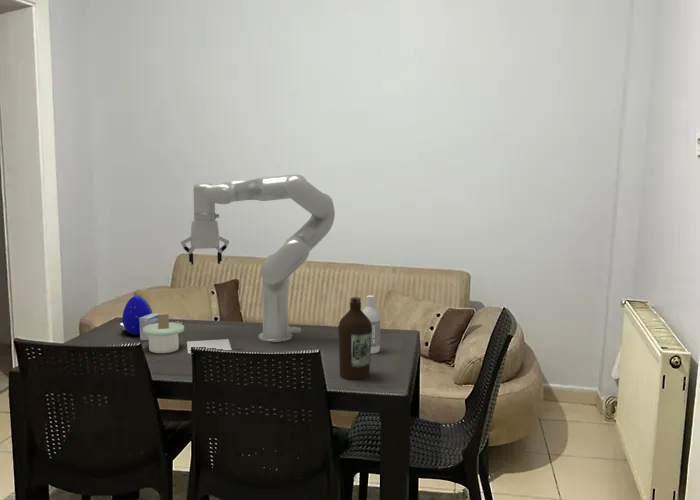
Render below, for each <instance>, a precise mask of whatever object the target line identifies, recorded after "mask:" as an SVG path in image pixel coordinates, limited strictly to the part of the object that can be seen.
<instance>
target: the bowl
mask: <svg viewBox="0 0 700 500" xmlns="http://www.w3.org/2000/svg"><path fill="white" fill-rule="evenodd" d="M179 346H180V345H179V334H175V335H169V336H150V335H149V340H148V351H149V352H152V353H153V354H154V353H156V354H168V353H172V352H173V353H174V352H176V351H178V350H179V348H180V347H179Z"/></svg>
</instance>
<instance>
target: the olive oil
mask: <svg viewBox="0 0 700 500" xmlns="http://www.w3.org/2000/svg"><path fill="white" fill-rule="evenodd" d="M349 300H350V302H349V310H348V311H347V312H346V313H345V315H344V316H342V318H340V321H339V322H338V326H337V327H338V328H337V332H338V358H339V376H340V377H341V378H343V379H346V380H353V381H354V380H355V381H357V380H364V379H367V378H368V377H369V376H370V368H371V354H370V352H371V337H372V325H371V322H370V320H369V319H368V317H367V316H366V315H365V314H364V313H363V310H362V309H361V307H362V302H361V297H357V296H353V297H350V299H349Z"/></svg>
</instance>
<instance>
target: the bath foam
mask: <svg viewBox="0 0 700 500" xmlns="http://www.w3.org/2000/svg"><path fill="white" fill-rule="evenodd" d="M365 299H366V301H365V304H366V306H365V307H364V309H363V310H362V312H363V313H364V314H365V315H366V316H367V317H368V319H369V320H370V322H371V325H372V337H371V352H370V355H372V354H373V355H374V354H377V353H379V352H380V350H381V349H380V347H381V346H380V345H381V317H380V312H379V311H378V309H377V308H376V306H375V305H376V304H375V303H376V302H375V300H376V299H375V295H371V294H369V295H366V297H365Z"/></svg>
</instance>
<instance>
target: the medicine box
mask: <svg viewBox="0 0 700 500" xmlns="http://www.w3.org/2000/svg"><path fill="white" fill-rule="evenodd" d="M158 313H159V312H157V313H156V312H152V313H151V314H149V315H146V316H143V317H141V318H139V321H140V335H139V338H140V339H139V340H140V341H146V340H147V341H149V335H146V334H144V333H143V327H145V326H147V325H150V324H154V323H158Z"/></svg>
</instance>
